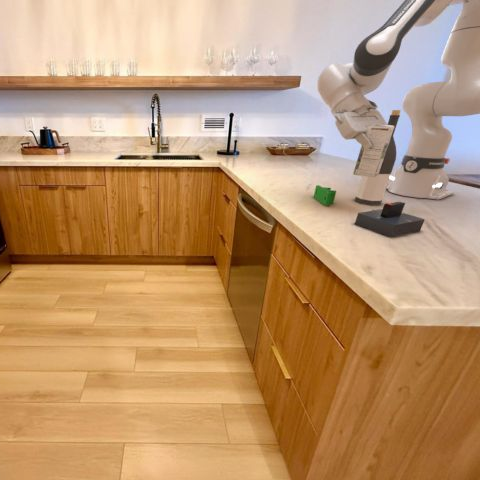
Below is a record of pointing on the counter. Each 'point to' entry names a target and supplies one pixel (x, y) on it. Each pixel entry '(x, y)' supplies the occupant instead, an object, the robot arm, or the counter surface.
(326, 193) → the pipe clamp
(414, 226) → the block
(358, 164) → the syrup box
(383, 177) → the wine bottle
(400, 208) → the black small block
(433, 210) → the counter surface
